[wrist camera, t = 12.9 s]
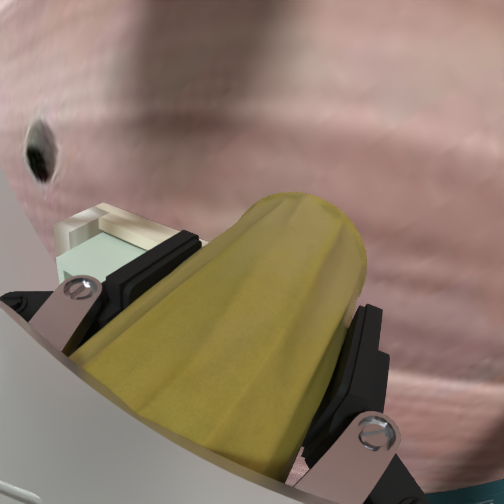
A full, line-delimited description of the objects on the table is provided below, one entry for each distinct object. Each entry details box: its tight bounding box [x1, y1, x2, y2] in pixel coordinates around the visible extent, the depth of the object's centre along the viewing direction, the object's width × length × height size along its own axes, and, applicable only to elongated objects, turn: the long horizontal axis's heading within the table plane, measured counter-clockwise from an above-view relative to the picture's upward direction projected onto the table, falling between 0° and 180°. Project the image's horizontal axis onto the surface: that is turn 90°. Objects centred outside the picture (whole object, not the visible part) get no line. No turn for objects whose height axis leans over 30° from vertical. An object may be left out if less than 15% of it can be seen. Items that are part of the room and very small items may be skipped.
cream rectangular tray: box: [54, 203, 209, 257], centre depth 25 cm, size 22×12×6 cm, turn 77°
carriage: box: [56, 231, 148, 284], centre depth 24 cm, size 9×9×6 cm
